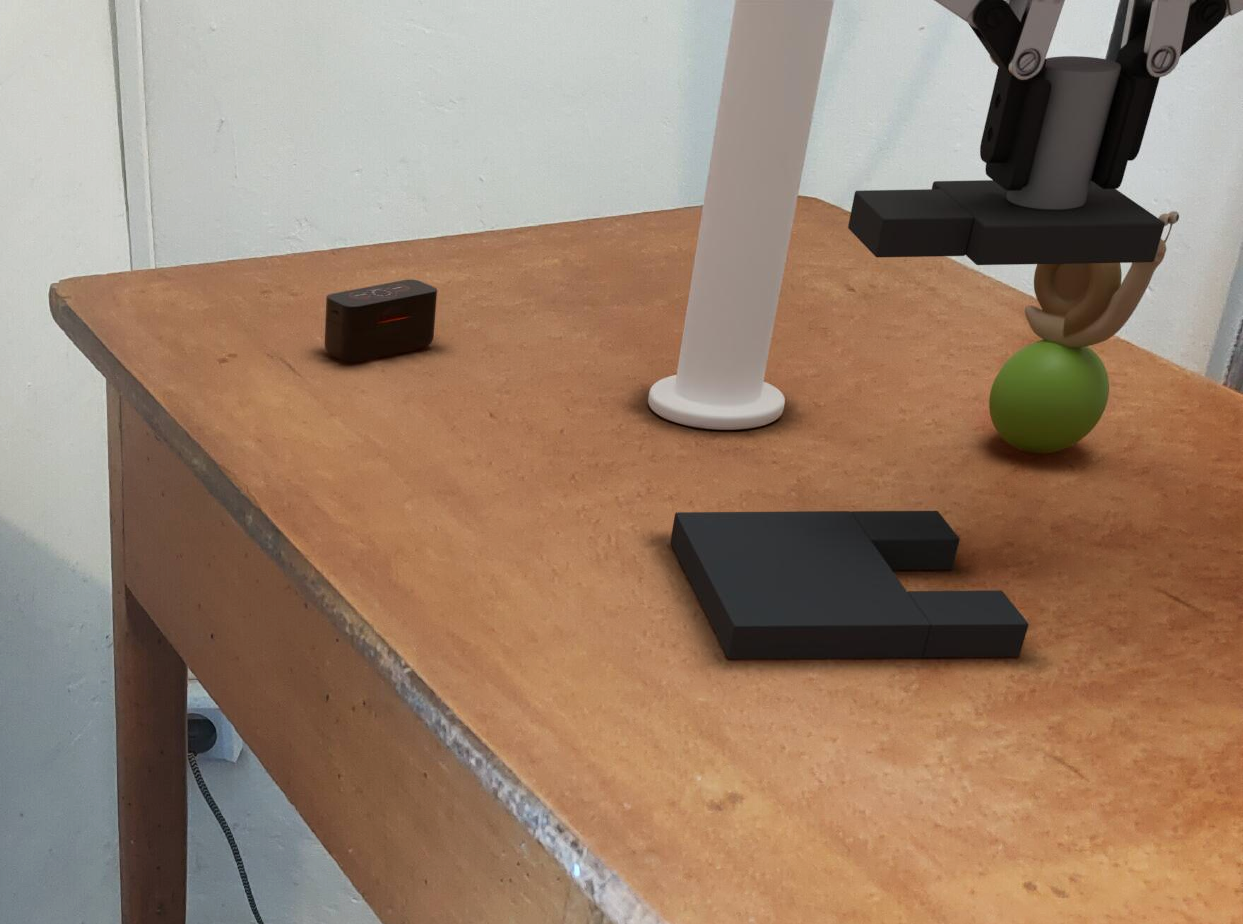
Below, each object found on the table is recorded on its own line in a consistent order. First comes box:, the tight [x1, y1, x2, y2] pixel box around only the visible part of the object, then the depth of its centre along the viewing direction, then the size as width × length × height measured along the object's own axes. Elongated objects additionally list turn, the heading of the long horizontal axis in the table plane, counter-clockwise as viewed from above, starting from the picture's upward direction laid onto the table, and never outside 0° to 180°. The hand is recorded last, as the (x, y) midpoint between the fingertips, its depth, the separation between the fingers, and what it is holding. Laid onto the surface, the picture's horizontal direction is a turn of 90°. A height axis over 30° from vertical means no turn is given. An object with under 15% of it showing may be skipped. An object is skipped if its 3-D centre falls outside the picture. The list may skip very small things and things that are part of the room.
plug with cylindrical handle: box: [847, 55, 1166, 266], centre depth 76 cm, size 11×7×6 cm, turn 89°
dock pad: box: [669, 510, 1029, 660], centre depth 82 cm, size 12×12×2 cm
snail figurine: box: [988, 210, 1180, 454], centre depth 92 cm, size 5×6×12 cm
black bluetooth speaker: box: [323, 279, 438, 364], centre depth 109 cm, size 5×7×3 cm, turn 119°
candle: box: [647, 0, 835, 431], centre depth 93 cm, size 7×7×25 cm
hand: (1051, 176), depth 76 cm, fingers closed on plug with cylindrical handle, 3 cm apart
